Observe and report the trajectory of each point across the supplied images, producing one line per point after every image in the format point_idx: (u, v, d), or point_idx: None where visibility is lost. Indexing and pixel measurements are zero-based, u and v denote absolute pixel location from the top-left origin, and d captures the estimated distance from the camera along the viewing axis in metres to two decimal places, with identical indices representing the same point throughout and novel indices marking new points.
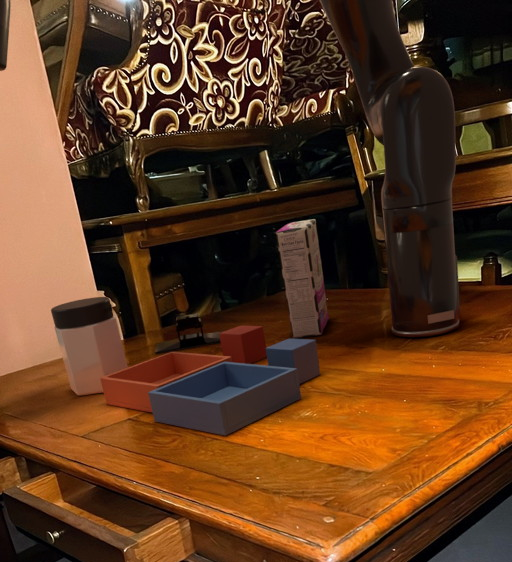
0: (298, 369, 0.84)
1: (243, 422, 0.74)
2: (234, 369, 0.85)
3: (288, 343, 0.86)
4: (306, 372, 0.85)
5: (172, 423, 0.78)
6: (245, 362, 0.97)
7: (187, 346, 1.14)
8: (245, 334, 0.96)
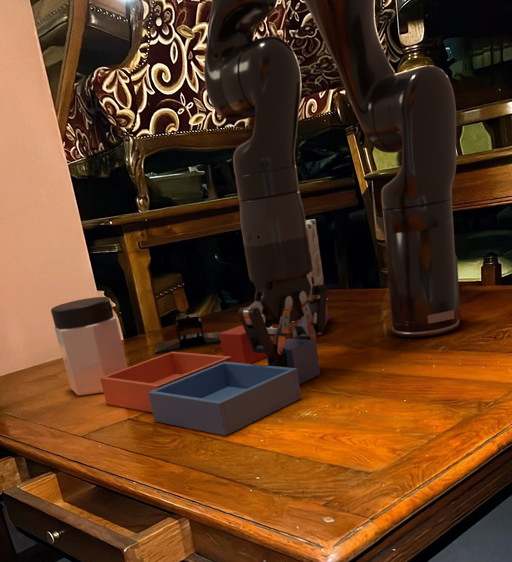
0: (298, 369, 0.84)
1: (243, 422, 0.74)
2: (234, 369, 0.85)
3: (288, 343, 0.86)
4: (306, 372, 0.85)
5: (172, 423, 0.78)
6: (245, 362, 0.97)
7: (188, 346, 1.14)
8: (245, 334, 0.96)
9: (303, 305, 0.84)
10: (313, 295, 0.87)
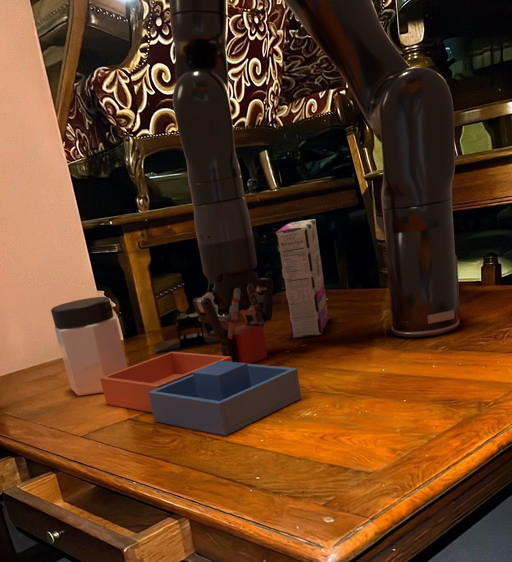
0: (226, 396, 0.77)
1: (243, 422, 0.74)
2: None
3: (217, 367, 0.78)
4: None
5: (172, 423, 0.78)
6: (245, 362, 0.97)
7: (188, 346, 1.14)
8: (245, 334, 0.96)
9: (250, 296, 0.96)
10: (261, 288, 0.99)
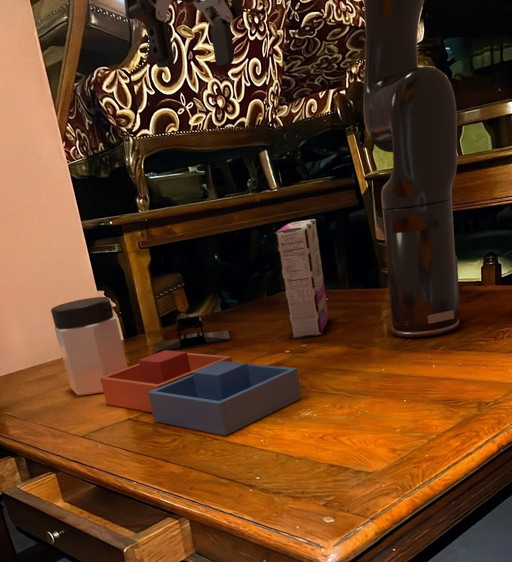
0: (226, 396, 0.77)
1: (243, 422, 0.74)
2: None
3: (217, 367, 0.78)
4: None
5: (172, 423, 0.78)
6: None
7: (188, 346, 1.14)
8: (166, 361, 0.86)
9: None
10: None
